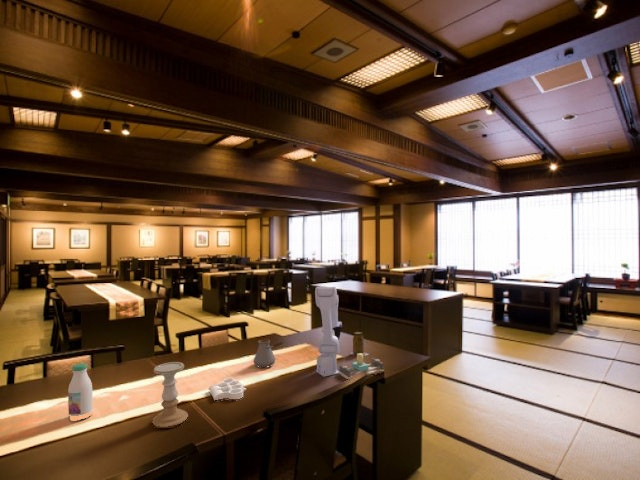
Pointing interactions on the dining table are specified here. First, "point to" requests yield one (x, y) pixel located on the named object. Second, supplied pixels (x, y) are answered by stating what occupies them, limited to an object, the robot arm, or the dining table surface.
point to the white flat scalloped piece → (227, 389)
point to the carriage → (360, 363)
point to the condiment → (358, 344)
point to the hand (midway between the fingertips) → (333, 341)
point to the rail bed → (373, 368)
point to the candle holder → (169, 396)
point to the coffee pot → (265, 354)
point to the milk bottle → (80, 391)
